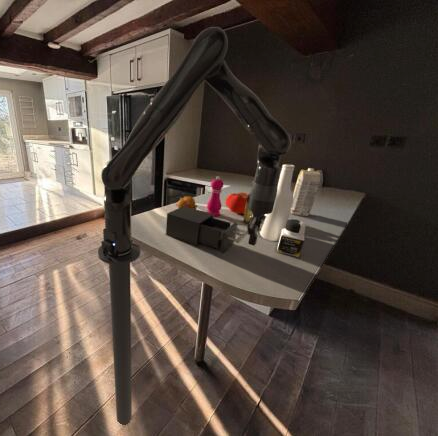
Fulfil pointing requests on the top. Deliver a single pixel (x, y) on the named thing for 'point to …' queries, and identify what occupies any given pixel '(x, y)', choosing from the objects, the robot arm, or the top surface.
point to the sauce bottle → (247, 210)
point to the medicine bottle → (292, 238)
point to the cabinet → (186, 224)
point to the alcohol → (279, 206)
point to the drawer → (218, 233)
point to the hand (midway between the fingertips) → (251, 244)
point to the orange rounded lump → (187, 202)
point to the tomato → (237, 202)
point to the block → (220, 233)
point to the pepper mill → (215, 197)
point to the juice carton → (305, 192)
